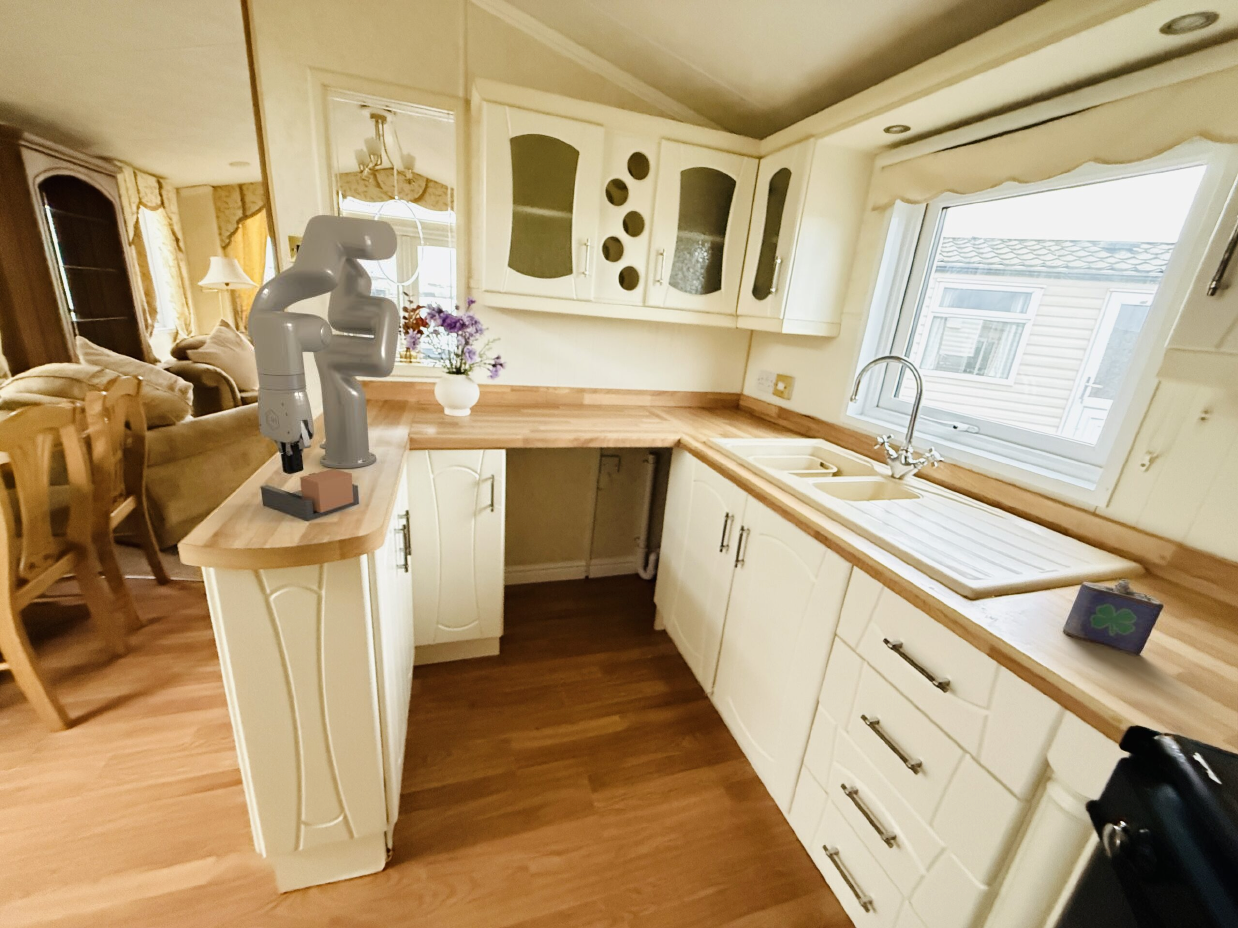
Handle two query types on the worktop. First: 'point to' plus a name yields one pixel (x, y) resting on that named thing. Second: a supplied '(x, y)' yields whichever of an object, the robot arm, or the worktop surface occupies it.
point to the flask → (1113, 616)
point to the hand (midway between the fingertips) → (293, 471)
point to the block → (328, 489)
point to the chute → (298, 502)
